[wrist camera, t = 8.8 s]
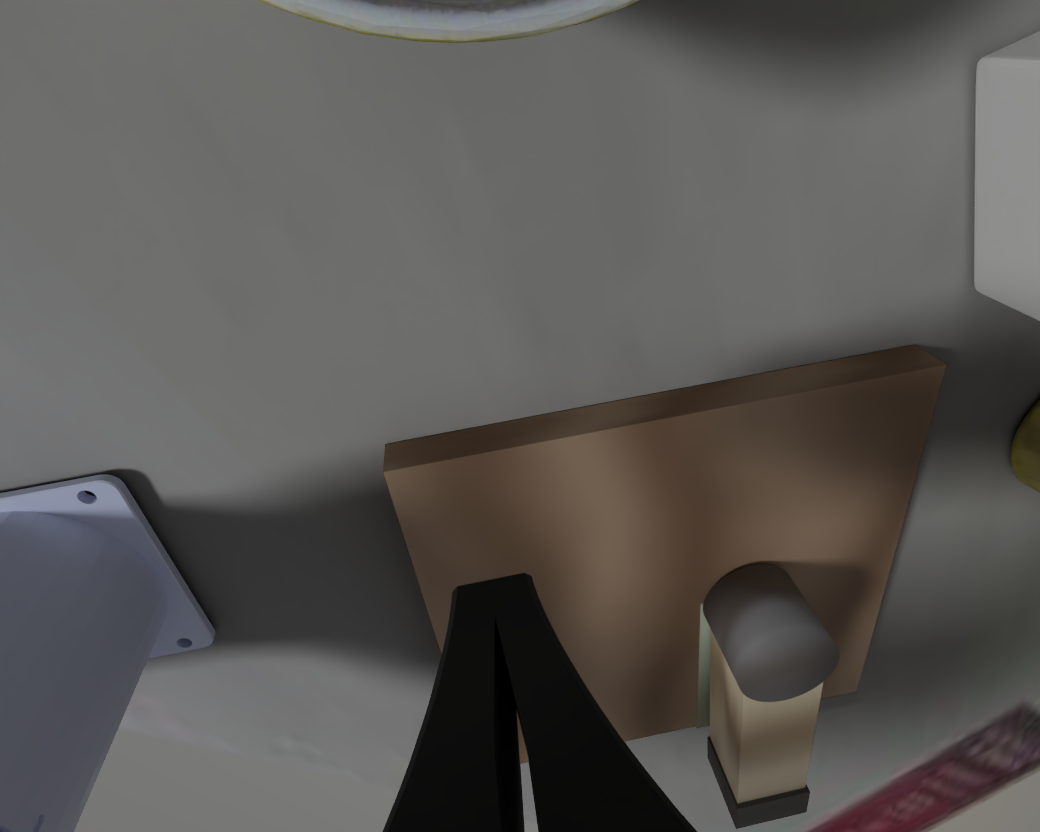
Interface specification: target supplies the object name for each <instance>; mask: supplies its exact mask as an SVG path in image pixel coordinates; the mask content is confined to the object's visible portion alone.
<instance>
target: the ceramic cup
mask: <svg viewBox="0 0 1040 832" xmlns="http://www.w3.org/2000/svg"><path fill="white" fill-rule="evenodd" d="M259 1H261V2H264V3H266V4H268V5H271V6H273V7H276V8H279V9H281V10H284V11H287V12H290V13H293V14H295V15H298V16H301V17H304V18H307V19H310V20H314V21H317V22H321V23H325V24H329V25H332V26H336V27H340V28H343V29H347V30H351V31H355V32H358V33H362V34H369V35H376V36H383V37H390V38H397V39H404V40H411V41H424V42H443V43H461V42H485V41H495V40H505V39H515V38H522V37H529V36H535V35H540V34H543V33H547V32H551V31H554V30H558V29H562V28H566V27H569V26H573V25H577V24H580V23H584V22H588V21H591V20H594V19H597V18H599V17H602V16H604V15H607V14H609V13H612V12H614V11H617V10H619V9H622V8H624V7H627V6H629V5H632V4H634V3H636V2H638V1H640V0H259Z"/></svg>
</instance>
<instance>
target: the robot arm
mask: <svg viewBox="0 0 1040 832" xmlns="http://www.w3.org/2000/svg"><path fill="white" fill-rule="evenodd" d="M85 491H90V492H92V493H94V494H95V495H96V496H91V495H89V494H87V493H86V492H85ZM214 636H215V630H214V628H213V627H212V625H211V623H210V622H209V620H208V618H207V617H206V615H205V614H204V612H203V610H202V609H201V607H200V605H199V604H198V602H197V601H196V599H195V597H194V596H193V594H192V592H191V591H190V589H189V588H188V586H187V584H186V583H185V581H184V579H183V578H182V576H181V575H180V573H179V571H178V570H177V568H176V566H175V565H174V563H173V562H172V560H171V558H170V557H169V555H168V553H167V552H166V550H165V549H164V547H163V545H162V544H161V542H160V540H159V539H158V537H157V536H156V534H155V532H154V531H153V529H152V527H151V526H150V524H149V523H148V521H147V519H146V518H145V516H144V514H143V513H142V511H141V510H140V508H139V506H138V505H137V503H136V501H135V500H134V498H133V497H132V495H131V493H130V492H129V490H128V488H127V487H126V485H125V484H124V483H123V482H122V480H121V479H119V478H117V477H115V476H112V475H108V474H102V475H95V476H90V477H85V478H79V479H74V480H69V481H63V482H58V483H53V484H47V485H42V486H36V487H31V488H26V489H20V490H15V491H10V492H4V493H0V832H74V830H75V828H76V825H77V823H78V821H79V818H80V816H81V814H82V811H83V809H84V806H85V804H86V802H87V799H88V797H89V795H90V793H91V790H92V788H93V786H94V783H95V781H96V778H97V776H98V774H99V772H100V769H101V767H102V765H103V762H104V760H105V758H106V755H107V753H108V751H109V748H110V746H111V744H112V741H113V739H114V736H115V734H116V732H117V730H118V727H119V725H120V723H121V720H122V718H123V716H124V713H125V711H126V709H127V706H128V704H129V702H130V699H131V697H132V695H133V692H134V690H135V688H136V685H137V683H138V681H139V678H140V676H141V674H142V671H143V669H144V667H145V664H146V662H147V660H148V659H151V658H156V657H161V656H166V655H171V654H176V653H181V652H186V651H191V650H196V649H201V648H205V647H208V646H210V645H211V644H212V642H213V639H214ZM517 713H518V717H519V721H520V725H521V730H522V734H523V738H524V742H525V746H526V750H527V754H528V760H529V767H530V774H531V781H532V788H533V795H534V802H535V809H536V816H537V824H538V831H539V832H697V831H696V830H695V829H694V828H693V826H692V825H691V824H690V823H689V822H688V821H687V820H686V819H685V817H684V816H683V815H682V814H681V813H680V812H679V811H678V809H677V808H676V807H675V806H674V805H673V803H672V802H671V801H670V800H669V798H668V797H667V796H666V795H665V793H664V792H663V791H662V790H661V789H660V787H659V786H658V785H657V784H656V782H655V781H654V780H653V779H652V777H651V776H650V775H649V774H648V772H647V771H646V770H645V768H644V767H643V766H642V765H641V763H640V762H639V761H638V759H637V758H636V757H635V755H634V754H633V753H632V752H631V750H630V749H629V747H628V746H627V745H626V743H625V742H624V741H623V739H622V738H621V737H620V735H619V734H618V732H617V731H616V730H615V728H614V727H613V725H612V724H611V723H610V721H609V720H608V718H607V717H606V715H605V714H604V712H603V711H602V709H601V708H600V706H599V705H598V703H597V702H596V700H595V699H594V697H593V696H592V694H591V693H590V691H589V690H588V688H587V687H586V685H585V683H584V682H583V680H582V679H581V677H580V675H579V674H578V672H577V670H576V668H575V667H574V665H573V663H572V662H571V660H570V658H569V657H568V655H567V653H566V652H565V650H564V648H563V646H562V645H561V643H560V641H559V639H558V637H557V635H556V633H555V631H554V629H553V627H552V625H551V623H550V621H549V619H548V617H547V615H546V613H545V611H544V609H543V607H542V604H541V602H540V599H539V597H538V594H537V591H536V589H535V586H534V583H533V579H532V576H531V575H529V574H527V573H520V574H515V575H510V576H505V577H500V578H495V579H490V580H485V581H480V582H475V583H470V584H465V585H460V586H457V587H456V588H455V589H454V590H453V591H452V600H451V609H450V615H449V622H448V627H447V633H446V638H445V642H444V647H443V651H442V656H441V660H440V664H439V668H438V671H437V675H436V679H435V683H434V686H433V690H432V694H431V698H430V701H429V705H428V708H427V711H426V714H425V717H424V721H423V724H422V727H421V730H420V733H419V736H418V739H417V742H416V745H415V748H414V751H413V754H412V757H411V760H410V763H409V766H408V768H407V771H406V774H405V776H404V779H403V782H402V784H401V787H400V790H399V792H398V795H397V798H396V800H395V803H394V805H393V807H392V810H391V812H390V815H389V817H388V820H387V822H386V825H385V827H384V830H383V832H524V816H523V801H522V785H521V769H520V754H519V739H518V724H517Z"/></svg>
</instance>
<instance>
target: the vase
mask: <svg viewBox="0 0 1040 832" xmlns="http://www.w3.org/2000/svg"><path fill="white" fill-rule="evenodd" d="M1010 461H1011V466H1012V469H1013V471H1014V473H1015V475H1016V476H1017V478H1018V479H1019V480H1020V481H1021V482H1023V483H1024V484H1025V485H1027V486H1029V487H1031V488H1033V489H1035V490H1036V491H1038V492H1040V400H1039V401H1038V402H1037V403H1036V404H1035V405H1034V406H1033V407H1032V409H1031V410H1030V411H1029V412H1028V414H1027V415H1026V416H1025V418H1024V419H1023V421H1022V422H1021V424H1020V426H1019V428H1018V430H1017V432H1016V434H1015V436H1014V439H1013V442H1012V446H1011V454H1010Z"/></svg>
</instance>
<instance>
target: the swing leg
mask: <svg viewBox="0 0 1040 832" xmlns="http://www.w3.org/2000/svg"><path fill="white" fill-rule="evenodd" d="M703 613H704V616H705V618H706V620H707V622H708V625H709V627H710V736H709V737H708V759H709V762H710V764H711V767H712V769H713V772H714V774H715V777H716V779H717V782H718V784H719V787H720V789H721V792H722V794H723V797H724V800H725V802H726V805H727V807H728V810H729V812H730V815H731V817H732V820H733V822H734V825H735V827H736V829H737V828H742V827H746V826H750V825H754V824H758V823H763V822H767V821H771V820H775V819H779V818H783V817H788V816H792V815H796V814H800V813H804V812H806V811H807V805H808V800H809V794H810V791H809V789H808V787H807V785H806V780H807V774H808V768H809V762H810V757H811V751H812V745H813V739H814V733H815V728H816V722H817V716H818V710H819V704H820V698H821V693H822V687H823V682H824V681H825V680H826V679H827V678H828V677H829V676H830V675H831V674H832V672H833V671H834V670H835V668H836V666H837V664H838V662H839V658H840V652H839V648H838V646H837V645H836V643H835V642H834V640H833V639H832V637H831V636H830V634H829V633H828V631H827V630H826V628H825V627H824V626H823V624H822V623H821V621H820V620H819V618H818V617H817V615H816V614H815V612H814V611H813V609H812V608H811V606H810V605H809V603H808V602H807V601H806V599H805V598H804V596H803V595H802V593H801V592H800V590H799V589H798V587H797V586H796V584H795V583H794V581H793V580H792V578H791V577H790V576H789V574H788V573H787V572H786V571H785V570H783V569H782V568H779V567H777V566H773V565H753V566H748V567H745V568H742V569H739V570H736V571H734V572H732V573H730V574H728V575H727V576H725V577H724V578H722V579H721V580H720V581H718V582H717V583H716V584H715V585H714V586H713V587H712V588H711V590H710V591H709V592H708V594H707V595H706V598H705V600H704V603H703Z"/></svg>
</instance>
